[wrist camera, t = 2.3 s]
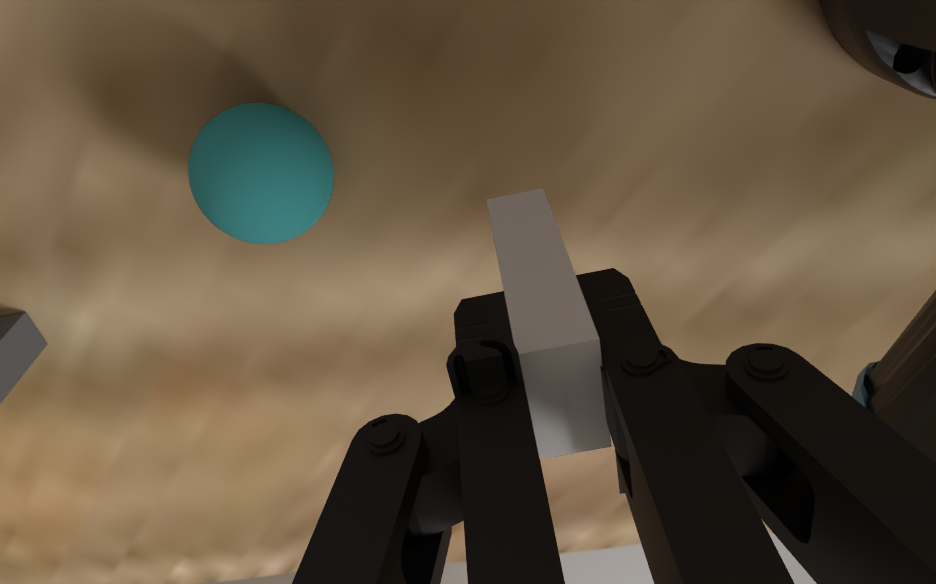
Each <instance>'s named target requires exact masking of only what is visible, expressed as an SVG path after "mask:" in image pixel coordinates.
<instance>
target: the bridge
mask: <svg viewBox="0 0 936 584" xmlns="http://www.w3.org/2000/svg"><path fill="white" fill-rule="evenodd" d="M46 345H47V343H46V341H45V340H44V338H43V337H42V335H41V334H40V332H39V331H38V329H37V328H36V326H35V325H34V323H33V322H32V320H31V319H30V317H29V316H28V314H27V313H26V312H23V313H18V314H13V315H8V316H3V317H0V404H1V402H2V401H3V400H4V399H5V397H6V396H7V395H8V394H9V392H10V391H11V390H12V388H13V387H14V386H15V385H16V383H17V382H18V381H19V380H20V378H21V377H22V376H23V374H24V373H25V372H26V371H27V369H28V368H29V367H30V366H31V364H32V363H33V362H34V361H35V359H36V358H37V357H38V355H39V354H40V353H41V352H42V350H43V349H44V348H45V347H46Z"/></svg>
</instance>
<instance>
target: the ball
mask: <svg viewBox="0 0 936 584" xmlns="http://www.w3.org/2000/svg"><path fill="white" fill-rule="evenodd" d="M188 174H189V183H190V187H191V191H192V194H193V196H194V199H195V201H196V202H197V204H198V206H199V208H200V209H201V211H202V212H203V214H204V215H205V216H206V217H207V218H208V220H209V221H210V222H211V223H212V224H214V225H215V226H216V227H217V228H219V229H220V230H221V231H223V232H224V233H226V234H228V235H230V236H232V237H234V238H236V239H239V240H242V241H245V242H250V243H256V244H273V243H280V242H284V241H287V240H290V239H293V238H295V237H297V236H299V235H300V234H302V233H304V232H306V231H307V230H308V229H309V228H311V227H312V226H313V225H314V224H315V223H316V222H317V221H318V220H319V218H320V217H321V216H322V214H323V213H324V211H325V209H326V207H327V205H328V203H329V201H330V198H331V195H332V190H333V184H334V169H333V163H332V159H331V155H330V152H329V150H328V147H327V145H326V143H325V142H324V140H323V138H322V137H321V135H320V134H319V133H318V131H317V130H316V129H315V128H314V127H313V126H312V125H311V124H310V123H309V122H308V121H307V120H305V119H304V118H303V117H301V116H300V115H298V114H297V113H295V112H293V111H291V110H289V109H287V108H284V107H281V106H278V105H274V104H269V103H246V104H241V105H237V106H234V107H231V108H229V109H227V110H224V111H222V112H221V113H219V114H218V115H216V116H215V117H214V118H212V119H211V120H210V121H209V122H208V123H207V124H206V125H205V126H204V127H203V129H202V130H201V131H200V133H199V134H198V136H197V138H196V140H195V141H194V144H193V146H192V149H191V153H190V158H189V165H188Z"/></svg>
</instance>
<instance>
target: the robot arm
mask: <svg viewBox="0 0 936 584" xmlns="http://www.w3.org/2000/svg"><path fill="white" fill-rule="evenodd" d="M819 1H820V4H821V7H822V10H823V13H824V15H825V18H826V20H827V22H828V24H829V26H830V28H831V30H832V32H833V33H834V35H835V37H836V38H837V40H838V41H839V42H840V44H841V45H842V46H843V48H844V49H845V50H846V51H847V52H848V53H849V54H850V56H851V57H852V58H853V59H855V60H856V61H857V62H858V63H859V64H860V65H862V66H863V67H864V68H866V69H867V70H869V71H870V72H872V73H873V74H875V75H877V76H879V77H881V78H883V79H885V80H887V81H889V82H891V83H894V84H896V85H898V86H900V87H902V88H904V89H907V90H909V91H911V92H913V93H916V94H918V95H921V96H924V97H927V98H932V99H936V0H819ZM486 201H487V206H488V211H489V216H490V222H491V227H492V232H493V237H494V242H495V247H496V253H497V258H498V263H499V268H500V273H501V279H502V284H503V289H504V291H502V292H497V293H492V294H487V295H482V296H477V297H472V298H467V299H462V300H461V302H460V303H459V305H458V307H457V309H456V311H455V313H454V324H455V338H456V348H455V349H454V350H453V351H452V353H451V354H450V355H449V356H448V360H447V364H446V366H447V370H448V374H449V377H450V381H451V385H452V388H453V392H454V395H455V399H454V400H453V401H452V402H451V404H450V405H449V406H448V407H447V408H445V409H444V410H443V411H442V412H440V413H438V414H437V415H435V416H433V417H431V418H429V419H426V420H424V421H422V422H420V423H418V422H417V421H416V420H415V419H413V418H411V417H410V416H408V415H402V414H390V415H384V416H381V417H378V418H376V419H374V420H372V421H369V422H368V423H367V424H366V425H364V426H363V427H362V428H361V429H359V430H358V432H357V433H356V435H355V436H354V438H353V440H352V442H351V444H350V446H349V449H348V451H347V454H346V456H345V458H344V461H343V463H342V465H341V468H340V470H339V473H338V475H337V477H336V480H335V482H334V485H333V487H332V489H331V492H330V494H329V496H328V499H327V501H326V504H325V506H324V508H323V511H322V513H321V516H320V518H319V520H318V523H317V525H316V528H315V530H314V532H313V535H312V537H311V539H310V542H309V544H308V547H307V549H306V551H305V554H304V556H303V559H302V561H301V563H300V566H299V568H298V571H297V573H296V575H295V578H294V580H293V582H292V584H440V582H441V578H442V574H443V569H444V565H445V560H446V556H447V551H448V547H449V543H450V538H451V534H452V526H453V525H455V524H457V523H459V522H461V521H463V520H464V531H465V546H466V561H467V575H468V584H565V582H564V577H563V572H562V567H561V562H560V557H559V552H558V547H557V542H556V537H555V532H554V527H553V523H552V518H551V513H550V508H549V503H548V498H547V493H546V488H545V483H544V478H543V473H542V468H541V463H540V459H545V458H551V457H556V456H562V455H567V454H573V453H578V452H583V451H589V450H594V449H600V448H605V447H611V438H610V434H611V437H612V440H613V444H614V447H615V453H616V462H617V471H618V480H619V489H620V494H621V493H625V494H626V497H627V500H628V503H629V506H630V509H631V512H632V515H633V519H634V522H635V525H636V528H637V531H638V534H639V537H640V540H641V544H642V547H643V550H644V553H645V556H646V559H647V562H648V565H649V569H650V571H651V575H652V578H653V580H654V584H794V582H793V580H792V578H791V576H790V574H789V572H788V570H787V568H786V566H785V564H784V562H783V561H782V559H781V557H780V555H779V553H778V551H777V549H776V547H775V545H774V543H773V541H772V539H771V537H770V535H769V533H768V531H767V529H766V527H765V525H764V524H763V522H762V520H763V521H764V522H765V524H766V525H767V526H768V527H769V528H770V529H771V531H772V532H773V533H774V534H775V535H776V536H777V537H778V539H779V540H780V541H781V542H782V543H783V545H784V546H785V547H786V548H787V549H788V550H789V551H790V553H791V554H792V555H793V556H794V557H795V558H796V560H797V561H798V562H799V563H800V564H801V565H802V566H803V568H804V569H805V570H806V571H807V573H808V574H809V575H810V576H811V577H812V578H813V579H814V581H815V582H816V583H817V584H936V290H935V292H934V293H933V294H932V296H931V297H930V298H929V299H928V301H927V302H926V303H925V304H924V306H923V307H922V308H921V310H920V311H919V312H918V313H917V315H916V316H915V317H914V319H913V320H912V321H911V322H910V324H909V325H908V326H907V327H906V329H905V330H904V331H903V333H902V334H901V335H900V336H899V338H898V339H897V340H896V341H895V343H894V344H893V345H892V347H891V348H890V349H889V350H888V352H887V353H886V354H885V356H884V357H883V358H882V359H881V361H878V362H873V363H869V364H868V365H867V366H866V367H865V368H864V369H863V370H862V371H861V372H860V373H859V375H858V377H857V381H856V384H855V387H854V391H853V392H852V396H850V395H849V394H848V393H847V392H845V391H844V390H843V389H842V388H840V387H839V386H838V385H837V384H835V383H834V382H833V381H832V380H830V379H829V378H828V377H827V376H825V375H824V374H823V373H822V372H820V371H819V370H818V369H817V368H815V367H814V366H813V365H812V364H810V363H809V362H808V361H806V360H805V359H804V358H803V357H801V356H800V355H799V354H797V353H795V352H794V351H792V350H790V349H788V348H786V347H782V346H779V345H775V344H763V343H755V344H751V345H746V346H742V347H740V348H738V349H737V350H735V351H733V352H732V353H731V354H730V356H729V357H728V359H727V360H726V365H715V364H699V363H692V362H688V361H684V360H681V359H679V358H678V356H677V355H676V354H675V353H674V352H673V351H672V350H671V349H670V348H668V347H666V346H664V345H662V344H661V342H660V340H659V338H658V336H657V334H656V332H655V330H654V328H653V326H652V324H651V322H650V320H649V318H648V316H647V314H646V312H645V310H644V308H643V306H642V305H641V302H640V300H639V298H638V296H637V294H636V293H635V290H634V288H633V286H632V284H631V282H630V280H629V278H628V277H626V276H625V275H623V274H622V273H620V272H619V271H617V270H616V269H614V268H611V269H606V270H601V271H596V272H591V273H585V274H580V275H575V272H574V270H573V267H572V264H571V262H570V259H569V256H568V254H567V251H566V248H565V246H564V243H563V240H562V237H561V235H560V232H559V229H558V227H557V224H556V221H555V219H554V216H553V213H552V211H551V208H550V205H549V203H548V200H547V197H546V195H545V192H544V189H543V188H540V189H535V190H531V191H526V192H521V193H516V194H511V195H506V196H501V197H496V198H492V199H487V200H486ZM761 519H762V520H761Z"/></svg>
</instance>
